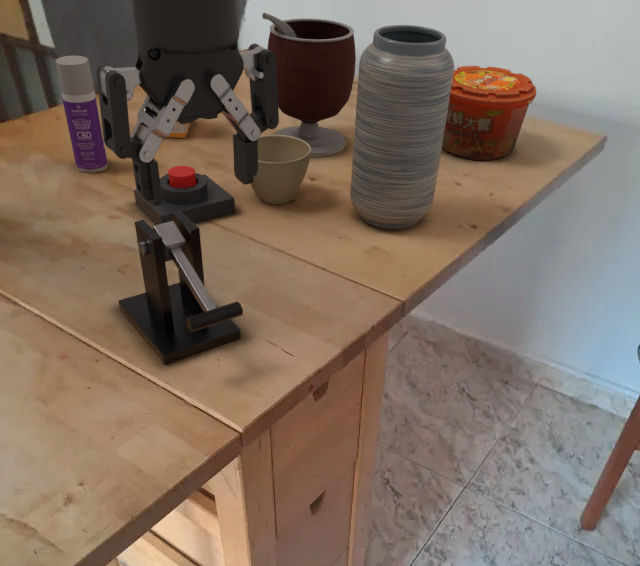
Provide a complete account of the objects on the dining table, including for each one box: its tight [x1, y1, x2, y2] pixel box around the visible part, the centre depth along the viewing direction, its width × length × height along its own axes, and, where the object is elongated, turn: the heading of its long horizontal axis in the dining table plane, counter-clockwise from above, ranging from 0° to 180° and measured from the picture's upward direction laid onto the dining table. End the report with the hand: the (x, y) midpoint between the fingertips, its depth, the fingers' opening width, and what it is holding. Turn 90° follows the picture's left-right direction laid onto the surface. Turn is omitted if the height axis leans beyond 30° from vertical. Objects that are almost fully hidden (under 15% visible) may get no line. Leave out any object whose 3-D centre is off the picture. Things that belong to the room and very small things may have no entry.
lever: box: [152, 221, 244, 332], centre depth 68 cm, size 12×6×2 cm, turn 34°
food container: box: [442, 65, 537, 161], centre depth 114 cm, size 16×16×11 cm
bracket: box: [117, 211, 242, 365], centre depth 72 cm, size 12×9×12 cm
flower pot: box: [250, 134, 311, 205], centre depth 98 cm, size 10×10×7 cm
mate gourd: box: [262, 12, 357, 158], centre depth 109 cm, size 16×14×20 cm
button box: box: [133, 172, 236, 225], centre depth 95 cm, size 11×9×4 cm
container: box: [55, 55, 109, 174], centre depth 101 cm, size 5×5×15 cm
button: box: [167, 165, 196, 188], centre depth 93 cm, size 4×4×2 cm
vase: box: [349, 24, 455, 230], centre depth 90 cm, size 12×12×23 cm
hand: (199, 191), depth 58 cm, fingers open, 8 cm apart
